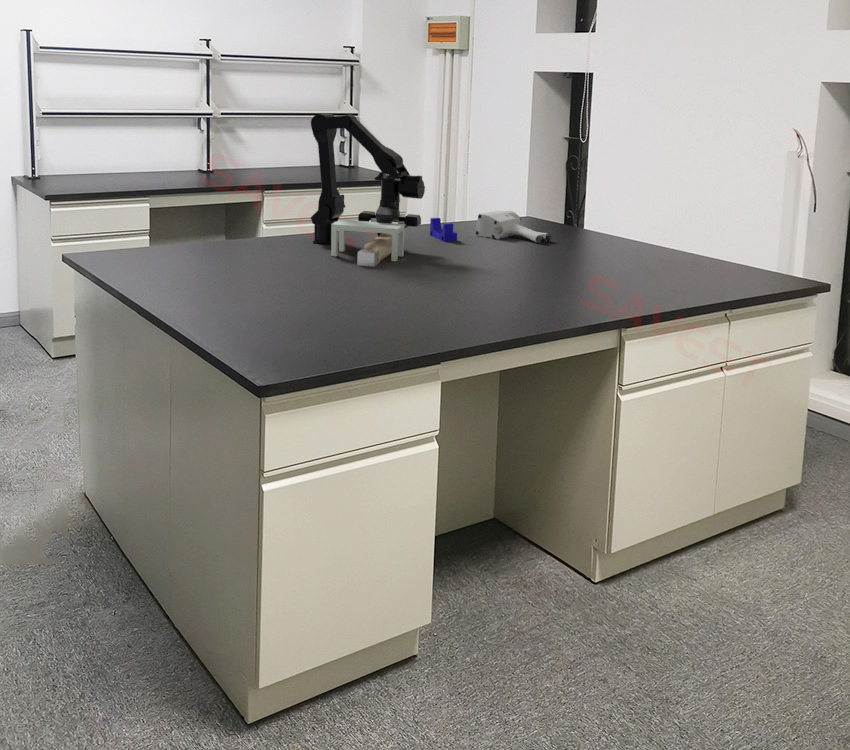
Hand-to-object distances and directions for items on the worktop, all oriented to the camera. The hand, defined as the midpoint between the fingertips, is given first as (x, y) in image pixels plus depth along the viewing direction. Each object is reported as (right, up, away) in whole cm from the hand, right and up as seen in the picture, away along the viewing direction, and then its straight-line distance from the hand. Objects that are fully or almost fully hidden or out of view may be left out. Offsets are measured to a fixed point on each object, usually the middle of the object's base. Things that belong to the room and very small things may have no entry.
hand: (389, 246), depth 306 cm
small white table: (-6, -4, -10) cm, 12 cm away
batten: (-2, -3, -7) cm, 8 cm away
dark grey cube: (-5, -8, -21) cm, 23 cm away
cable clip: (+17, +5, +23) cm, 29 cm away
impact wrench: (+45, +7, +31) cm, 55 cm away
